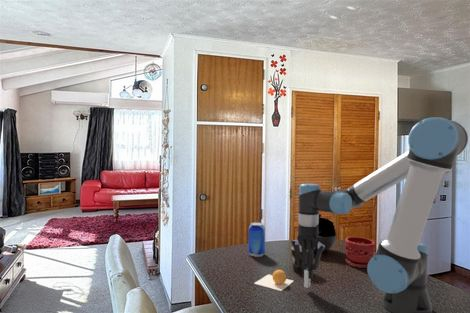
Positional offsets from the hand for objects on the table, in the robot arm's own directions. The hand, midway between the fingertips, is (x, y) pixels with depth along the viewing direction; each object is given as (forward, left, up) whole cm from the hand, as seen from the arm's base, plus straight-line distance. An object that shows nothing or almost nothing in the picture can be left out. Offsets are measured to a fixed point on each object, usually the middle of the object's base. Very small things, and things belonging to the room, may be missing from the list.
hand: (307, 286), depth 125 cm
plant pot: (-9, -43, -2) cm, 44 cm away
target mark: (+14, 0, -2) cm, 14 cm away
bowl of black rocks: (+15, -52, -2) cm, 54 cm away
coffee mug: (+11, -20, -2) cm, 23 cm away
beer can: (+38, -27, -2) cm, 47 cm away
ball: (+12, 0, +1) cm, 12 cm away
